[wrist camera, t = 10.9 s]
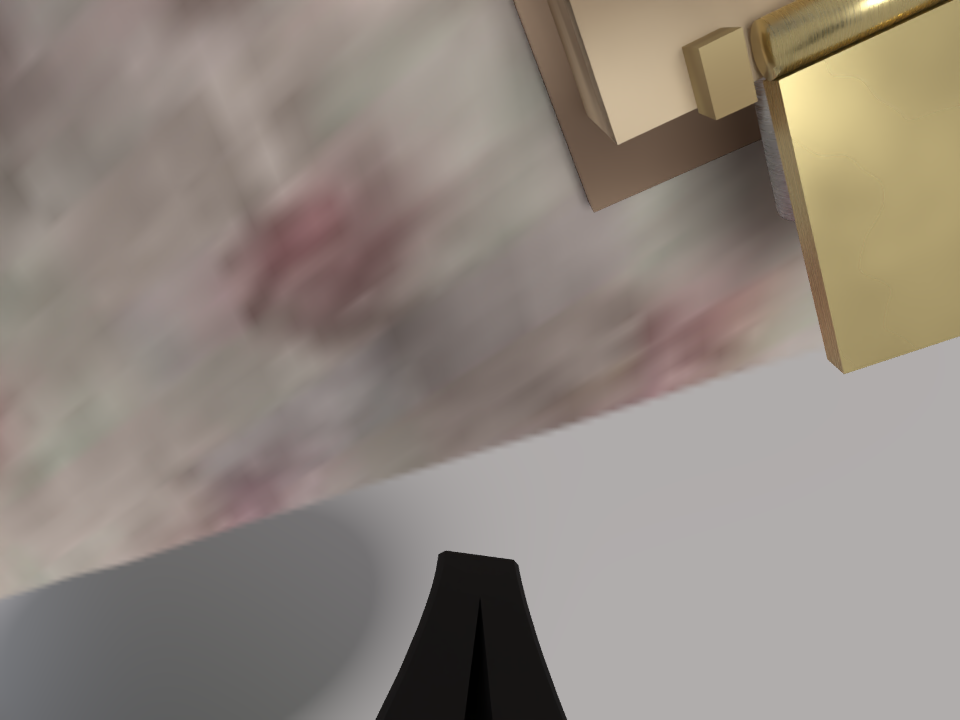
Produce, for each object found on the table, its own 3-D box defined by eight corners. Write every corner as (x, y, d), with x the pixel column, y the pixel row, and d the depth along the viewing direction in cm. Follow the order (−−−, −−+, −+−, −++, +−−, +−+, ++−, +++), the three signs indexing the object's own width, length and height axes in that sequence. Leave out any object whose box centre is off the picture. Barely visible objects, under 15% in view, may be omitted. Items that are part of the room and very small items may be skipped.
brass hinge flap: (746, 22, 10) (768, 16, 9) (1035, -120, 9) (1094, -144, 8) (824, 356, 12) (847, 377, 11) (1054, 278, 11) (1099, 295, 10)
